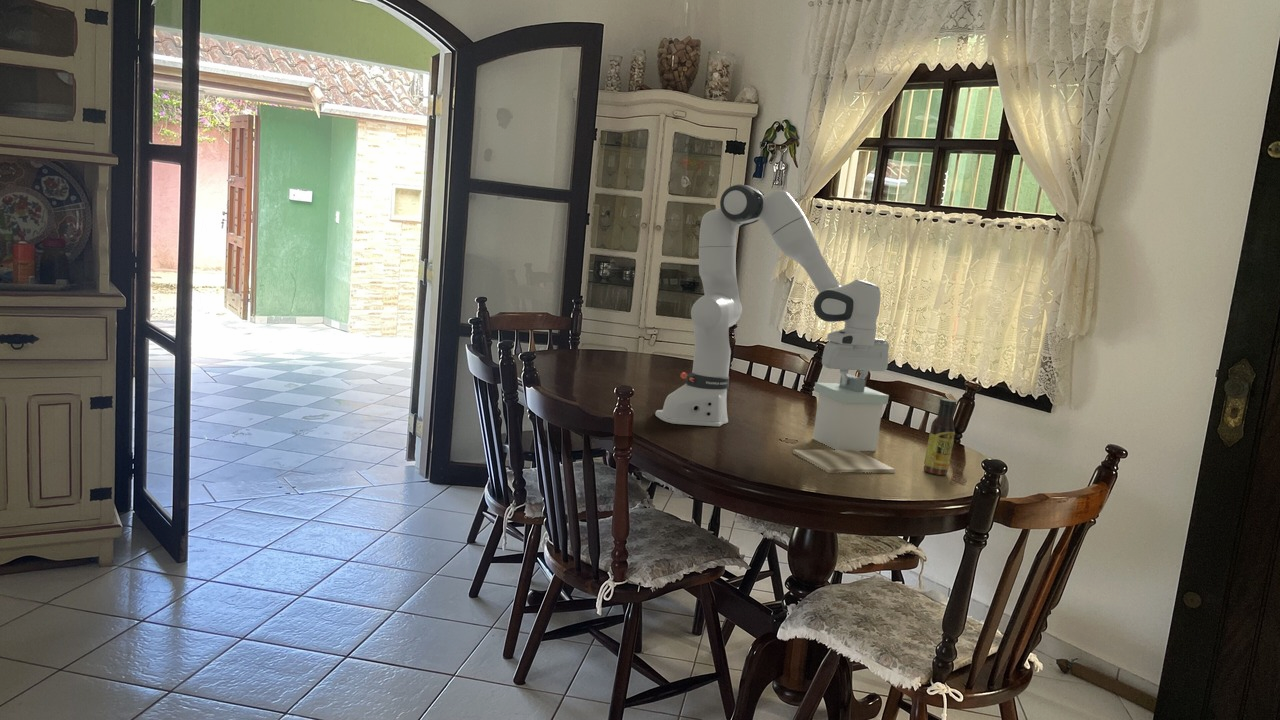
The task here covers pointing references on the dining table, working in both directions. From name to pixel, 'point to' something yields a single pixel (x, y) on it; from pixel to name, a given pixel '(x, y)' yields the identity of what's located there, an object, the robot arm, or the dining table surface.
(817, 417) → the box
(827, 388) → the lid
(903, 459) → the dining table surface
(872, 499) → the dining table surface
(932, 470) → the sauce bottle
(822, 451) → the board
